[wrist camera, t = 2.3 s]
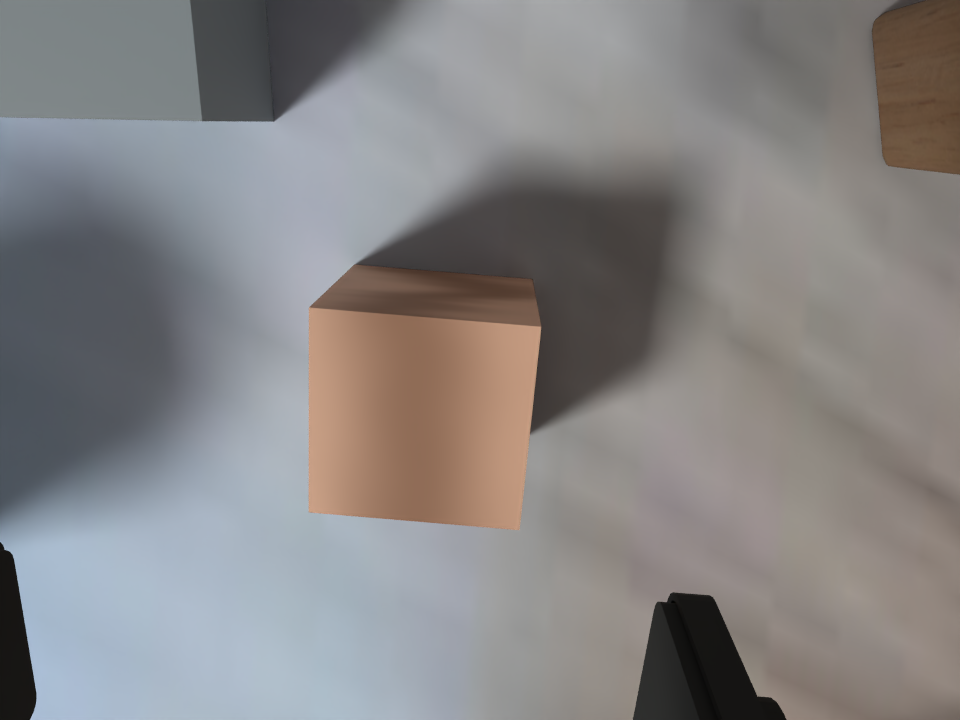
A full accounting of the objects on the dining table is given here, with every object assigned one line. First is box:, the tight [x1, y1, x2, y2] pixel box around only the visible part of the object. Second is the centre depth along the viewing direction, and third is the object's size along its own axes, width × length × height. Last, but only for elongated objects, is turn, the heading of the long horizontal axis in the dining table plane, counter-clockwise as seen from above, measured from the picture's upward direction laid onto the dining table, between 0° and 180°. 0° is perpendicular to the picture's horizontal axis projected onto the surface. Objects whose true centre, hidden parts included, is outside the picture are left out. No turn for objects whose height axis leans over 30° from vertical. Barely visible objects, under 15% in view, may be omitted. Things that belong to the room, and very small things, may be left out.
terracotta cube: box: [309, 265, 541, 530], centre depth 22 cm, size 6×6×6 cm
